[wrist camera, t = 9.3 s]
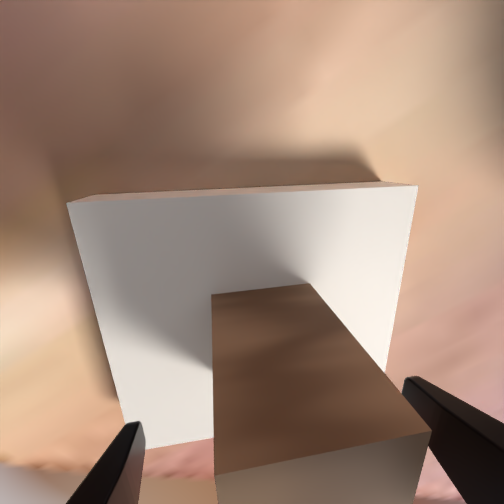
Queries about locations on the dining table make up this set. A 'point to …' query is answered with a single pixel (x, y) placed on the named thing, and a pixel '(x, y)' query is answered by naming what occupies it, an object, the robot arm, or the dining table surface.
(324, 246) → the base block
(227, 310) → the walnut block
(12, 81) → the dining table surface
